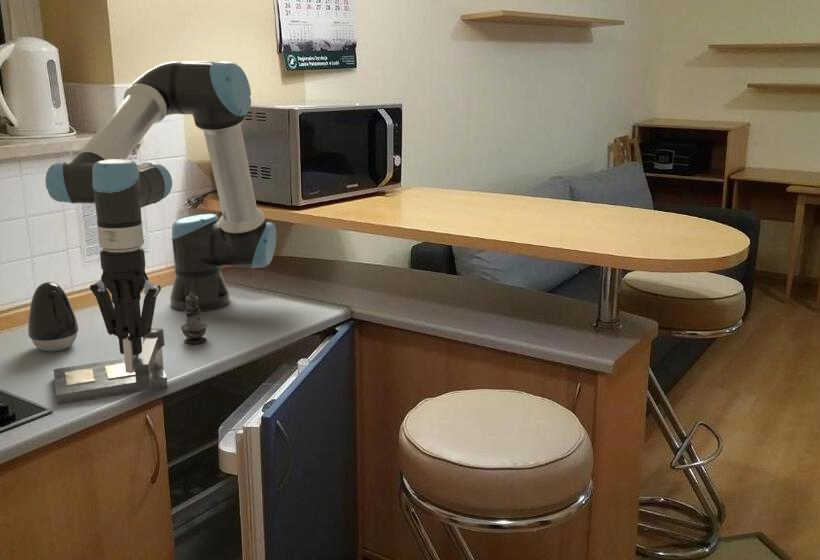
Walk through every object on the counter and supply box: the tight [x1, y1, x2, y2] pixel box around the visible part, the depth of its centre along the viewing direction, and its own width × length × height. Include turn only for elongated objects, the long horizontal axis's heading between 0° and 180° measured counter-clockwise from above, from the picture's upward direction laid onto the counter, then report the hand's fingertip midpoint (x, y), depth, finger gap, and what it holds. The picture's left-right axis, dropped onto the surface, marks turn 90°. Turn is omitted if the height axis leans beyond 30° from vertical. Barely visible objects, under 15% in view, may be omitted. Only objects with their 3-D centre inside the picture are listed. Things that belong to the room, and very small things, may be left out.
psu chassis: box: [53, 346, 169, 406], centre depth 157 cm, size 20×14×6 cm
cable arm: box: [134, 327, 165, 392], centre depth 153 cm, size 19×4×6 cm, turn 10°
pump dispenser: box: [27, 281, 80, 352], centre depth 175 cm, size 10×10×15 cm
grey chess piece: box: [180, 291, 208, 346], centre depth 179 cm, size 6×6×12 cm
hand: (132, 370), depth 148 cm, fingers closed
